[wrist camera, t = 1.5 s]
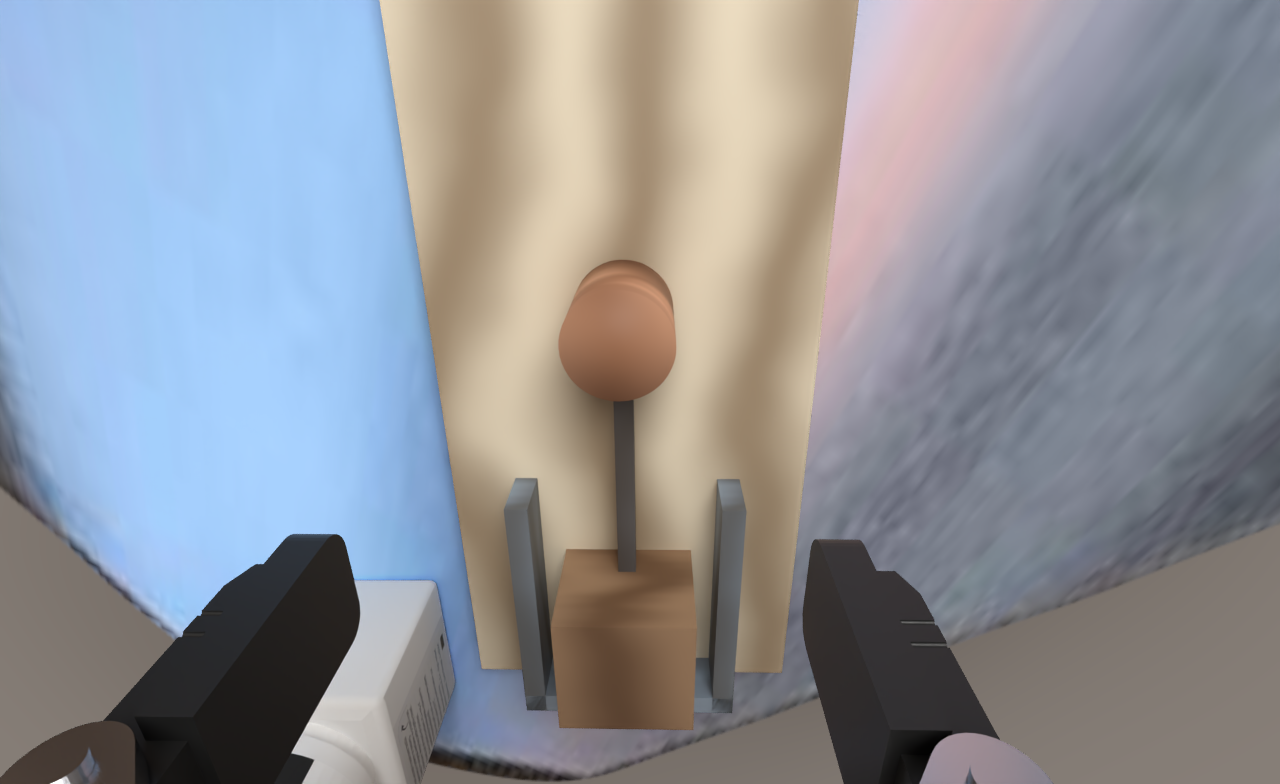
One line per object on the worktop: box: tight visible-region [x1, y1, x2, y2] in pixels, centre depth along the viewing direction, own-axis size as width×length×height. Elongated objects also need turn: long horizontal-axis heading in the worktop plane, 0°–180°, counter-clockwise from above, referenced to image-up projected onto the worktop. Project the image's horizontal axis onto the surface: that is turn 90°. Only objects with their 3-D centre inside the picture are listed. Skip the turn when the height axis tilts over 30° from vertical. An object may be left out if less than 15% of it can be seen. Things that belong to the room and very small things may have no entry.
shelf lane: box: [380, 0, 859, 713], centre depth 26 cm, size 16×36×4 cm, turn 1°
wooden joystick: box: [551, 260, 697, 730], centre depth 27 cm, size 6×20×5 cm, turn 0°
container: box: [274, 580, 455, 784], centre depth 29 cm, size 8×8×13 cm
